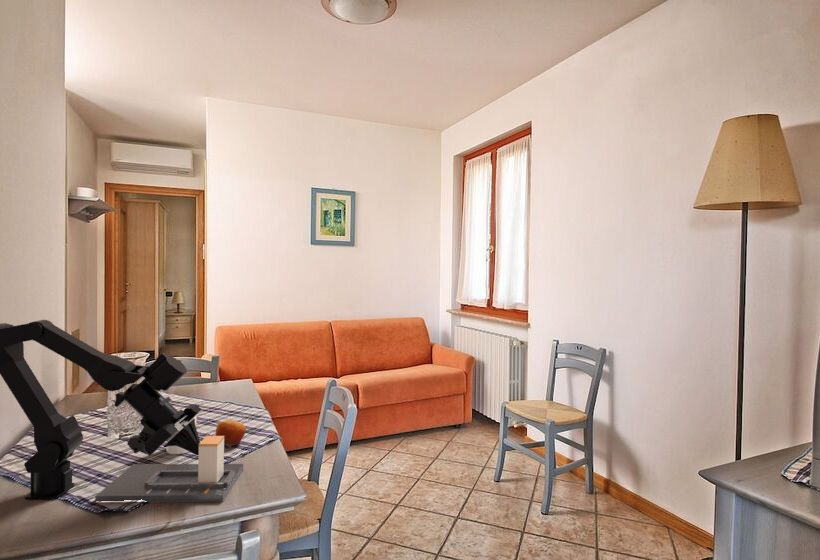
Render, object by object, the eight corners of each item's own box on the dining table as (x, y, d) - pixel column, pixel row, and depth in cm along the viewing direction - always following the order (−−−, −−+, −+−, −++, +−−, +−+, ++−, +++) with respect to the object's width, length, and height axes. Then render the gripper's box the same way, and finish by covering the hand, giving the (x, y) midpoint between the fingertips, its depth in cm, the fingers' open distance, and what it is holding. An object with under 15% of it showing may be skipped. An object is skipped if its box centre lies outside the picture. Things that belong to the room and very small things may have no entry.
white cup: (183, 457, 124) (184, 419, 124) (157, 453, 125) (157, 416, 125) (202, 446, 132) (203, 410, 131) (177, 443, 133) (178, 407, 133)
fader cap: (198, 484, 105) (198, 443, 105) (205, 474, 110) (206, 435, 110) (216, 483, 105) (217, 443, 105) (223, 474, 110) (224, 435, 110)
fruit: (204, 445, 128) (214, 415, 132) (218, 451, 135) (227, 422, 139) (232, 448, 127) (240, 418, 131) (244, 453, 134) (252, 424, 138)
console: (95, 503, 99) (95, 492, 99) (133, 470, 115) (133, 461, 115) (223, 501, 101) (223, 491, 101) (243, 469, 117) (243, 460, 117)
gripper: (144, 417, 115) (190, 461, 116) (100, 446, 97) (156, 498, 98) (178, 385, 116) (223, 430, 117) (141, 408, 97) (196, 461, 98)
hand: (201, 453), depth 107 cm, fingers closed, pressing on fader cap
